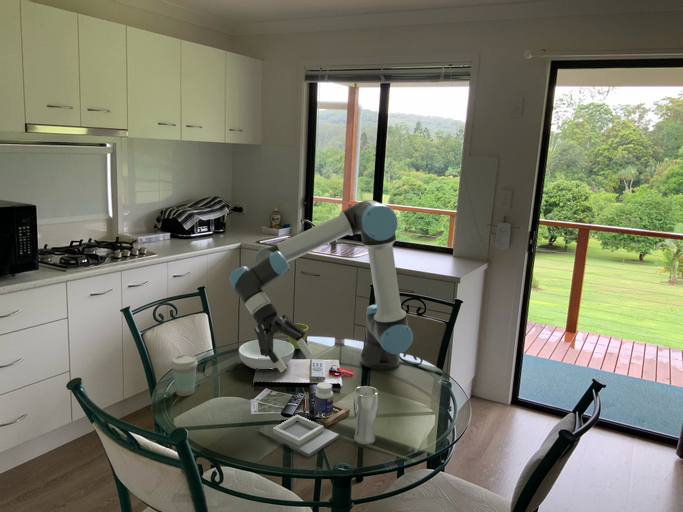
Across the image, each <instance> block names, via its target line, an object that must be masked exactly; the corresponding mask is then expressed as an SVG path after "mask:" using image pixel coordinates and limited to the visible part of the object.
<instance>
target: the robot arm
mask: <svg viewBox="0 0 683 512" xmlns="http://www.w3.org/2000/svg"><path fill="white" fill-rule="evenodd" d="M397 227H398V217H397V215H396V213H395V212H394V210H393V209H392V208H391V207H389V206H388V205H387V204H384V203H381V202H378V201H377V200H373V199H372V200H371V199H367V200H363V201H359V202H358V203H356V204H353V205H352V206H350V207H347V208H345V209H343V210H341V211H340V212H339V215H337V216H334V217H333V218H331V219H328V220H326V221H324V222H322V223H320V224H318V225H315V226H313V227H311V228H309V229H307V230H305V231H302V232H301V233H299V234H296V235H294V236H292V237H289V238H287V239H285V240H283V241H281V242H278V243H276V244H274V245H272V246H270V247H262V248H260V249H259V250H258V251H257V253H256V258H255V262H256V264H255V265H254V266H253V267H251V268H248V266H246V265H245V266H244V265H243V266H240V267H238V268H236V269H234V271H231V273H230V274H229V277H228V278H229V280H228V281H229V282H230V284H231V285H232V287H233V290H234V291H235V292H236V294H237V295H238V297H239V298H240V300H241V301H242V302H243V304H244V305H245V307H246V308H247V310H248V311H249V313H250V315H252V317H253V320H254V321H255V323H256V324H257V325H256V326H255V327H254V330H253V331H254V332H255V335H256V338H257V340H258V343H259V347H260V352H261V355H265V356H266V357H267V356H269V357H270V359H271V361H272V362H273V363H275V365H276V366H277V370H278V371H279V373H283V372H284V371H285V370H287V369H288V367H287V364H286V365H285V364H284V362H283V361H282V359H281V358H280V356H279V354H278V353H277V351H276V350H275V351H274V352H273V339H274V335H275V334H279V333H280V334H284V335H286V336H287V337H288V336H289V337H291V338H293V339H295V340H297V341H298V342H296V343H297V344H298V346H299V347H300V349H299V350H300V351H301V352H302V354H303V355H304V356H305V357H306V360H307V359H310V358H311V357H312V356H313V355H314V353H313V351H312V350H311V349H310V347H309V344H308V343H307V341H306V339H305V340H304V338H303V337H304V336H305V334H306V335H307V332H306V333H305V332H304V331H303V330H302V329H301V328H299V327H298V326H297V325H296V324H297V323H294V321H292V320H290V318H288V316H287V315H286V314H282V316H280V317H279V316H278V310H277V309H276V307H275V306H274V304H272V303H271V300H270V298H269V297H268V296H267V294H266V293H265V291H264V290H263V288H264V287H266V286H267V285H268V284H270V283H271V282H273V281H275V280H276V279H278V277H280V276H282V275H284V274H285V273H286V272H287V271H288V270H289V269H290V266H291V265H290V262H291V261H293V260H296V259H297V258H301V257H302V256H304V255H307V254H308V253H309V254H310V253H311V252H313V251H315V250H317V249H319V248H322V247H323V246H326V245H328V244H331V243H332V242H334V241H336V240H338V239H341V238H343V237H346V236H354V235H357V234H359V233H360V236H361V244H362V245H363V246H364V248H367V252H368V259H369V266H370V272H371V277H372V278H371V279H372V285H373V290H374V298H375V304H371V305H369V306H368V307H367V308H366V313H365V315H366V320H365V321H366V323H365V325H366V326H365V328H366V329H365V344H364V346H363V349H362V351H361V354H360V363H361V365H362V366H364V367H366V368H368V369H374V370H383V371H385V370H391V369H392V370H393V369H394V368H396V367H398V366H399V364H400V355H399V354H402V353H404V352H406V351H407V350H408V349H409V348H410V347H411V345H412V343H413V341H414V334H413V332H412V329H411V328H410V326H409V324H408V316H407V312H406V311H405V310H404V309H402V305H401V297H400V291H399V284H398V275H397V269H396V262H395V255H394V248H393V245H394V243H395V242H396V241H397V237H396V232H397V229H398V228H397ZM300 333H301V334H300Z"/></svg>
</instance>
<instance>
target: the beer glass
mask: <svg viewBox="0 0 683 512" xmlns="http://www.w3.org/2000/svg"><path fill="white" fill-rule="evenodd" d="M353 396H354V398H353V414H354V415H353V416H354V420H355V431H354V432H355V433H354V436H353V440H354V441H355V442H356V443H357V444H360V445H363V446H365V445H372V444H373V443H375V441H376V435H375V425H376V420H377V416H378V411H379V391H378V389H377V388H375V387H373V386H369V385H364V386H358V387H357V388H355V390H354V395H353Z"/></svg>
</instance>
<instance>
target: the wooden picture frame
mask: <svg viewBox="0 0 683 512" xmlns="http://www.w3.org/2000/svg"><path fill="white" fill-rule="evenodd" d="M333 408H335V409H338V410H339V411H340V412H337V413H334V414H333V415H332V416H331V417H329V418H321V419H316V421H318V422H320V423H321V424H322V425H323V426H325V427H327V426H329V425H330V424H332V423H333V422H335V421H336V420H338V419H340V418H342V417H343V418H345V417H346V416H348V415H350V408H347V407H345V406H343V405H340V404H337V403H335V402H333ZM305 415H307V414H305ZM308 416H309V415H308ZM344 416H345V417H344ZM343 418H342V419H343ZM340 420H341V419H340ZM338 421H339V420H338ZM335 423H336V422H335ZM333 424H334V423H333ZM333 424H332V425H333ZM330 426H331V425H330ZM330 426H329V427H330ZM325 427H324V428H325ZM327 428H328V427H327Z"/></svg>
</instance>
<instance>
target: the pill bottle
mask: <svg viewBox="0 0 683 512" xmlns="http://www.w3.org/2000/svg"><path fill="white" fill-rule="evenodd" d="M332 389H333V384H331V383H329V382H326V381H325V382H324V381H323V382H318V383H317V384H316V391H315V393H314V394H315V395H314V402H315V409H316V411H318V412H320V413H322V414H323V416H325V417H327V416H330V415H332V413H334V410H333V403H334V391H333V390H332ZM332 416H333V415H332Z"/></svg>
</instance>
